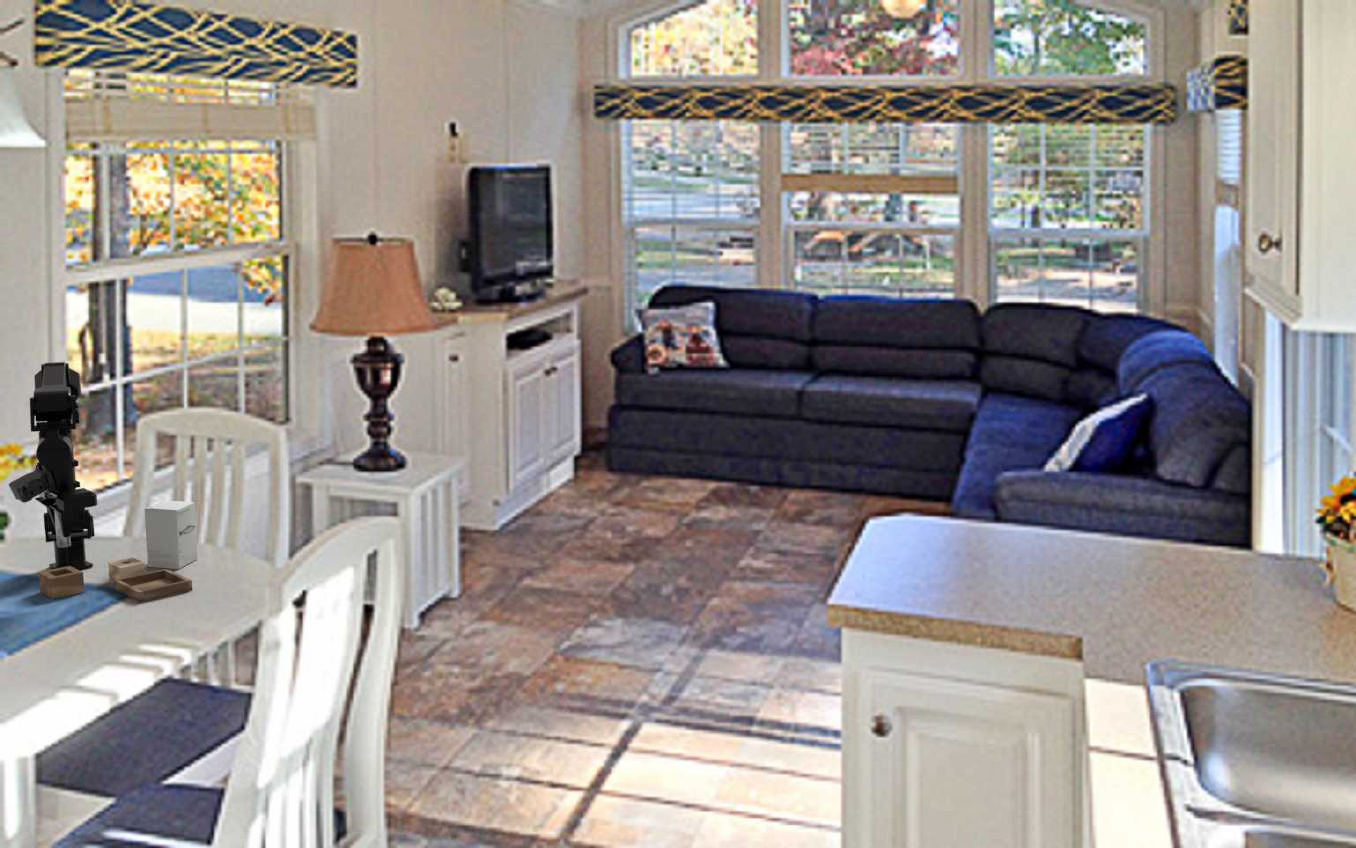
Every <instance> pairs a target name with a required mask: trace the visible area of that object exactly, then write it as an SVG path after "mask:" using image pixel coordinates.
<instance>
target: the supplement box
mask: <svg viewBox="0 0 1356 848" xmlns="http://www.w3.org/2000/svg"><path fill="white" fill-rule="evenodd" d="M195 505H196V504H195V501H181V500H178V501H177V500H163V501H159V502H158V503H155V504H153V505H150V506H148V507H146V508H144V518H145V519H144V522H145V536H146V538H145V539H146V553H147V554H146V556H147V557H146V558H147V567H148V568H157V569H168V570H180V569H182V568H183V567H185V566H187V565H188V564H190V563H192V562H195V561H197V560H198V543H197V541H198V540H197V522H196V521H197V520H196V507H195Z"/></svg>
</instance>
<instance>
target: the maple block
mask: <svg viewBox="0 0 1356 848" xmlns="http://www.w3.org/2000/svg"><path fill="white" fill-rule="evenodd" d="M107 565H108V578H109V582H110V583H111V584H114V580H117V579H122V578H126V577H131V576H135V575H140V574H145V573H146V565H145V561H141V559H137V558H134V557H129V558H124V559H120V560H114V561H109V562H107Z"/></svg>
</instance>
